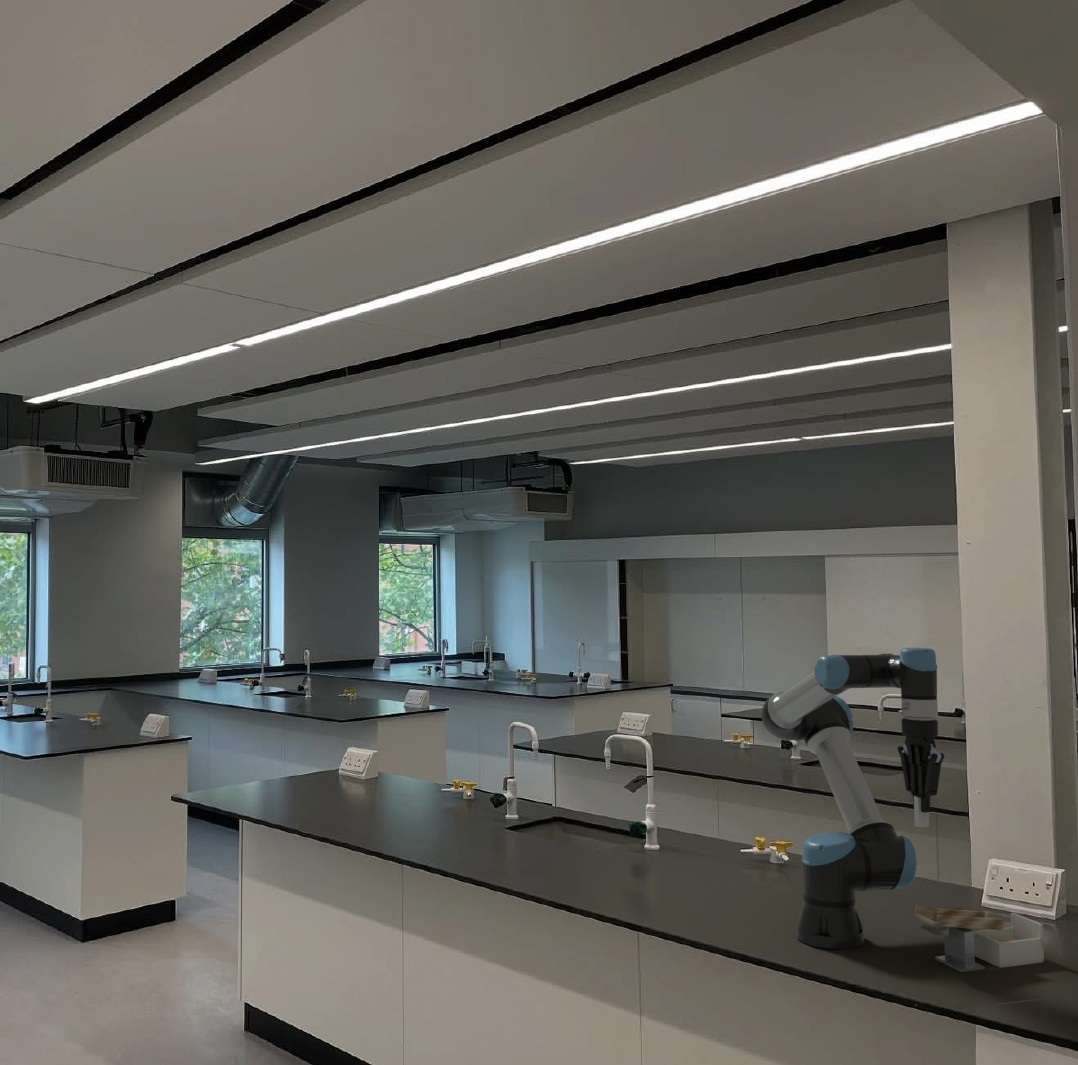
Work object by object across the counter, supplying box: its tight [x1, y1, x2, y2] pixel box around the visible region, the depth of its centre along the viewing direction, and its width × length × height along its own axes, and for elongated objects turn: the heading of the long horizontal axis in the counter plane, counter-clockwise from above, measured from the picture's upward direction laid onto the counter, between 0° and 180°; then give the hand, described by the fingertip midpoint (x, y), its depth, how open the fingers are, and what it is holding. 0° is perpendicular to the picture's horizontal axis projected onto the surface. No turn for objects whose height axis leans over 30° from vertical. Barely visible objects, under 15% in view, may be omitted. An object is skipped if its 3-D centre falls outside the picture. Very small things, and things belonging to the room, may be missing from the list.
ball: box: [1002, 938, 1015, 942], centre depth 224 cm, size 4×4×4 cm
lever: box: [913, 903, 1005, 937], centre depth 223 cm, size 18×13×5 cm
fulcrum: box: [935, 927, 985, 973], centre depth 220 cm, size 6×8×8 cm
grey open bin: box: [973, 912, 1045, 969], centre depth 223 cm, size 9×12×8 cm
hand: (921, 826), depth 225 cm, fingers closed
